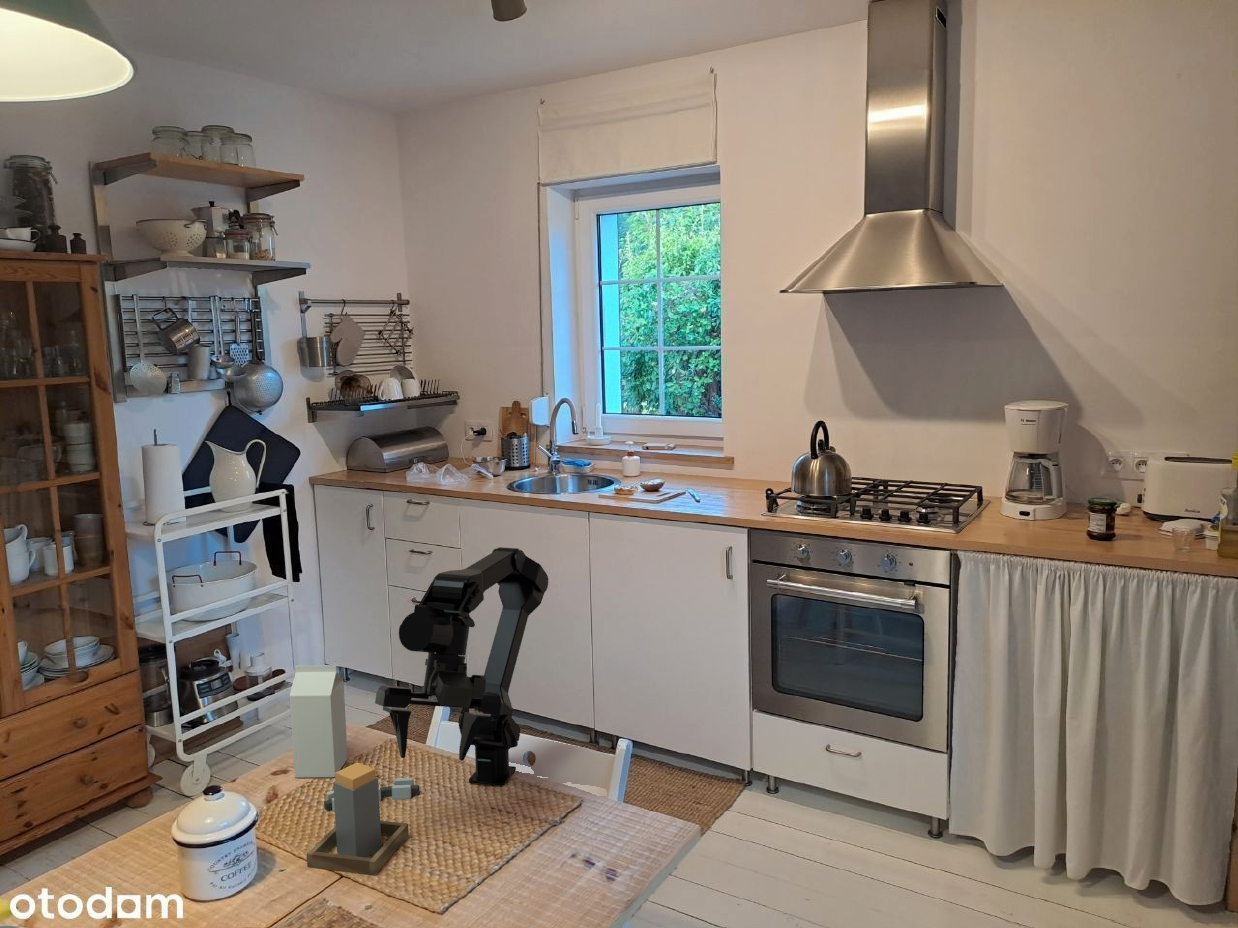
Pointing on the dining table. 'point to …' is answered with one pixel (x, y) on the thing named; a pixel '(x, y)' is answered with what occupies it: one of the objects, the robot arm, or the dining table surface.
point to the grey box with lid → (357, 811)
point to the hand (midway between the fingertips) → (432, 758)
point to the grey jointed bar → (385, 792)
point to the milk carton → (318, 721)
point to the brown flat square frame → (352, 863)
